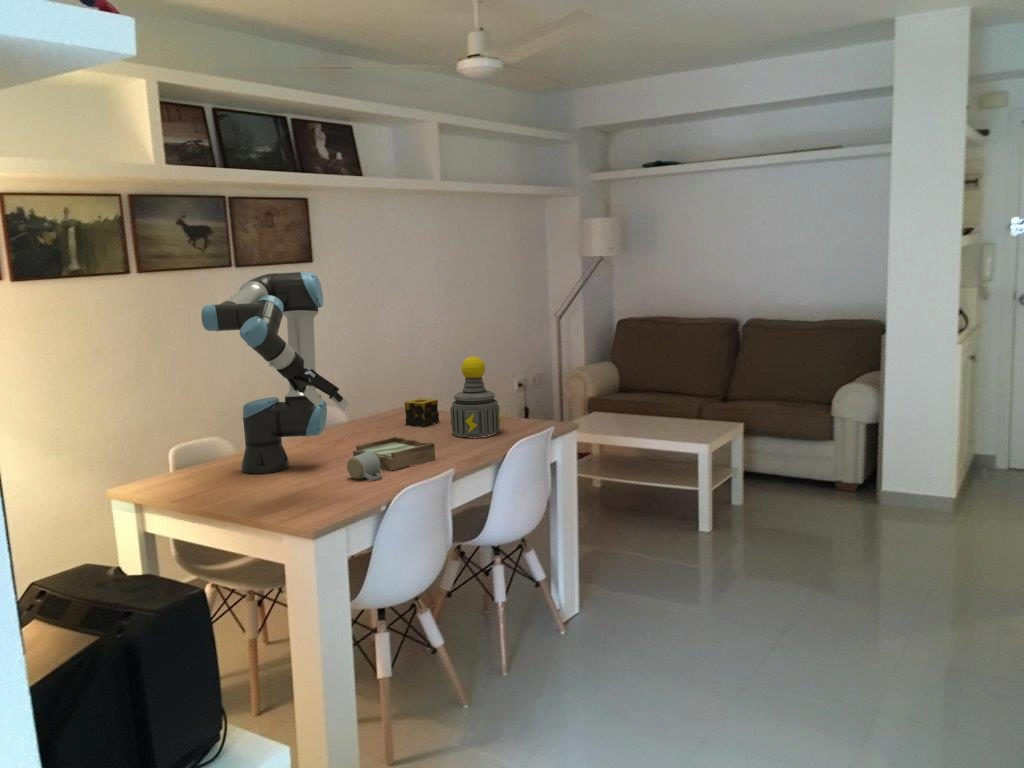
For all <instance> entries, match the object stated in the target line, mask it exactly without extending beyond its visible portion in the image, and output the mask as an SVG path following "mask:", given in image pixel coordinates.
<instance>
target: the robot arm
mask: <svg viewBox="0 0 1024 768" xmlns="http://www.w3.org/2000/svg"><path fill="white" fill-rule="evenodd" d="M322 307H324V294H323V290H322V284H321V281H320V279H319V276H317V274H315V273H314V272H309V271H307V272H304V271H301V272H300V271H299V272H297V271H296V272H279V273H278V272H277V273H274V272H273V273H267V274H263V275H260V276H256V277H254V278H251V279H250V280H248V281H246V282H244V283H243V284H242V285H241V286H240V288H239V289H238V291H237V292H236V293H234V294H233V295H231V296H230V297H229V298H227V299H226V300H224V301H222V302H221V303H218V304H215V303H213V304H207V305H204V306H203V307H202V309H201V315H200V316H201V325H202V326H203V328H204V330H206V331H209V332H220V331H221V332H223V331H227V332H228V331H239V336H240V338H241V339H242V340H243V341H244V342H245V343H246V345H247V346H248V347H251V349H253V350H254V351H255V352H256V353H257V354H258V355H259V356H261V357H262V358H263V359H264V360H265V361H266V362H267V363H268V366H269V367H270V368H271V367H273V369H275V370H276V371H277V372H278V374H279V375H281V376H282V377H283V378H284V379H286V381H288V387H289V390H288V392H287V393H286V394H285V395H284V401H280V399H279V397H278V396H275V397H274V396H271V397H266V398H265V397H264V398H259V399H256V400H252V401H251V400H250V401H249V402H246V403H245V404H244V405H243V407H242V420H243V421H242V422H243V432H244V434H243V435H244V441H245V445H244V446H245V448H244V452H243V458H242V461H241V471H242V472H243V473H244V472H246V473H245V474H249V473H253V475H255V474H257V475H260V474H261V473H264V474H271V473H277V472H282V471H284V470H286V469H288V468H289V467H290V461H289V457H288V455H287V453H286V450H285V448H284V446H283V440H282V438H289V437H290V438H293V437H311V436H319V435H321V434H323V432H324V430H325V427H326V423H327V415H328V408H327V402H326V400H324V399H323V398H322V394H321V393H319V391H321V392H322V393H323V394H326V395H327V396H329V397H328V399H330V400H331V401H332V402H333V403H335V405H337V406H338V407H339V408H340V409H341V410H342V411H346V409H347V408H348V406H349V405H350V402H349V401H348V400H347V399H346V398H345V397H344V396H343V395H341V393H339V390H340V388H339V387H337V386H336V385H335V384H333V383H331V382H330V381H329V380H327V378H325V377H323V376H322V375H320V374H319V373H318V372H316V349H315V348H316V347H315V343H316V342H315V320H314V319H315V318H316V316H317V315H318V314H319V308H322ZM283 317H285V318H286V321H287V323H286V325H287V326H286V327H287V342H286V341H285V340H283V338H282V337H281V336H280V335H279V332H280V331H279V330H280V326H281V324H282V320H283ZM318 390H319V391H318ZM261 475H262V474H261Z"/></svg>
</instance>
